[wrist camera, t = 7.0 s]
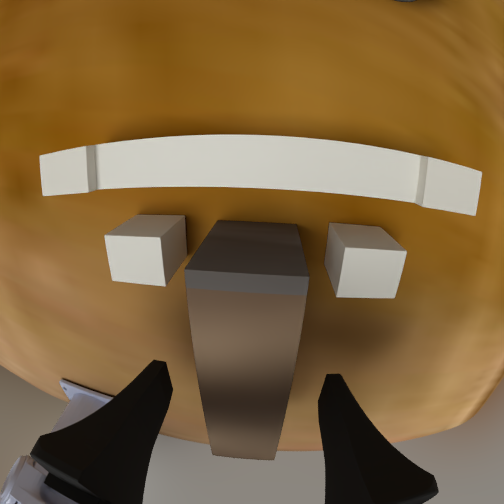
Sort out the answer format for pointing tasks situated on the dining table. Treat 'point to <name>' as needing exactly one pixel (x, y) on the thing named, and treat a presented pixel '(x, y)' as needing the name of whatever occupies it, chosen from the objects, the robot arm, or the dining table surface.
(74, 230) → the dining table surface
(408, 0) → the dark grey tall piece
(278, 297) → the block
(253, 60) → the dining table surface
